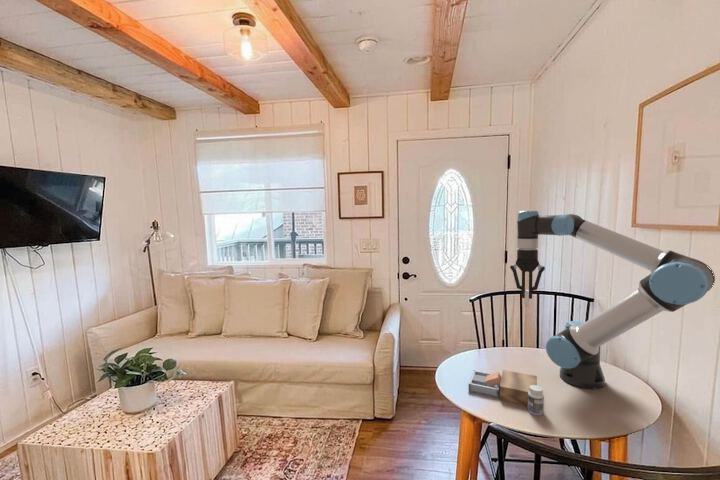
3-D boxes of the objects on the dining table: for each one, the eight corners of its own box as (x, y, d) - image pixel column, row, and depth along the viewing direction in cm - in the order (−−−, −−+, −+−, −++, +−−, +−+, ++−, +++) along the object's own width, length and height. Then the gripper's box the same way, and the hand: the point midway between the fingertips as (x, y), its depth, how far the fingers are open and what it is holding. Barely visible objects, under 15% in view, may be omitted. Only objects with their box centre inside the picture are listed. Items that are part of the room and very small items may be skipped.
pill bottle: (525, 407, 116) (525, 384, 115) (539, 407, 116) (540, 384, 115) (531, 415, 111) (531, 391, 111) (545, 416, 111) (546, 391, 110)
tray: (501, 382, 133) (501, 375, 133) (498, 397, 122) (498, 389, 122) (473, 377, 138) (473, 370, 138) (468, 391, 127) (468, 383, 127)
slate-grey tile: (474, 374, 134) (474, 380, 134) (472, 379, 130) (472, 386, 130) (487, 376, 132) (487, 382, 132) (485, 382, 128) (485, 388, 128)
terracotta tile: (501, 377, 129) (498, 371, 130) (500, 383, 125) (497, 377, 125) (489, 381, 132) (486, 375, 132) (488, 387, 127) (485, 381, 128)
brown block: (536, 388, 128) (536, 375, 128) (536, 407, 116) (537, 393, 115) (502, 381, 134) (502, 369, 133) (499, 399, 121) (499, 386, 121)
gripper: (545, 248, 135) (544, 305, 137) (510, 247, 141) (509, 302, 143) (546, 250, 128) (545, 310, 130) (509, 249, 134) (508, 306, 136)
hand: (526, 306), depth 136 cm, fingers closed
